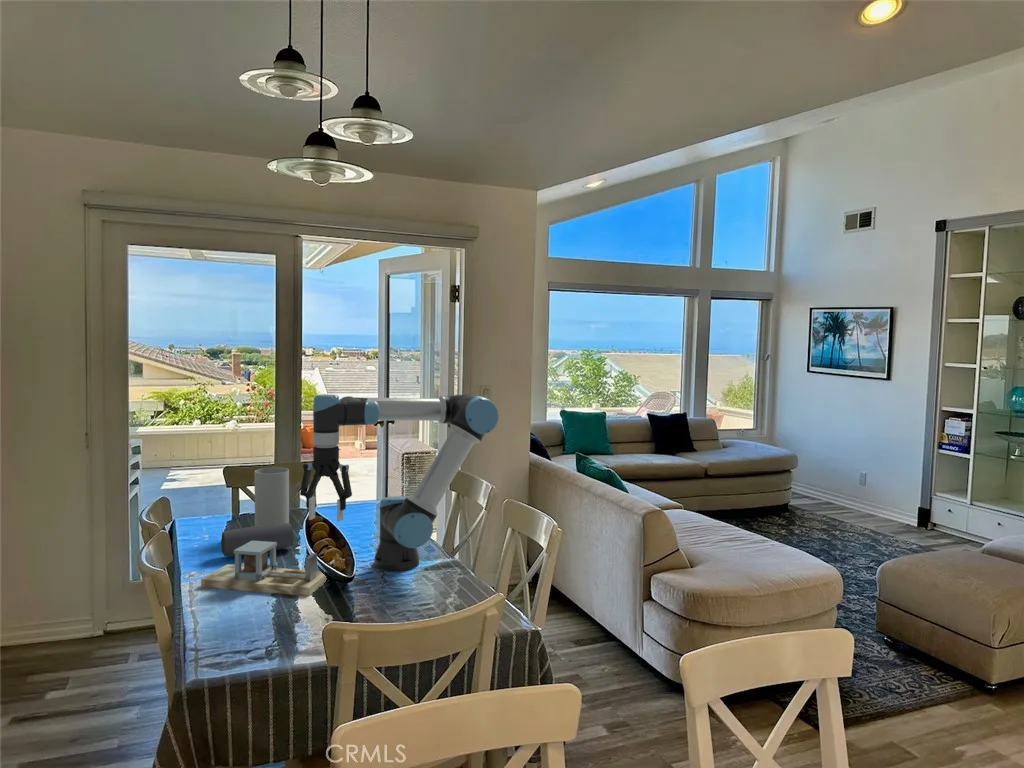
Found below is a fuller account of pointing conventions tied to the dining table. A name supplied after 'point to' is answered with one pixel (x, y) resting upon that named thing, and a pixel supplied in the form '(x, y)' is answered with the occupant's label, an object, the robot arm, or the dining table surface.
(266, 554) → the block
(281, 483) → the cylinder vase
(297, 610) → the dining table surface
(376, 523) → the dining table surface
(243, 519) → the dining table surface
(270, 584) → the platform
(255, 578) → the tunnel
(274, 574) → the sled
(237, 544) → the bluetooth speaker
